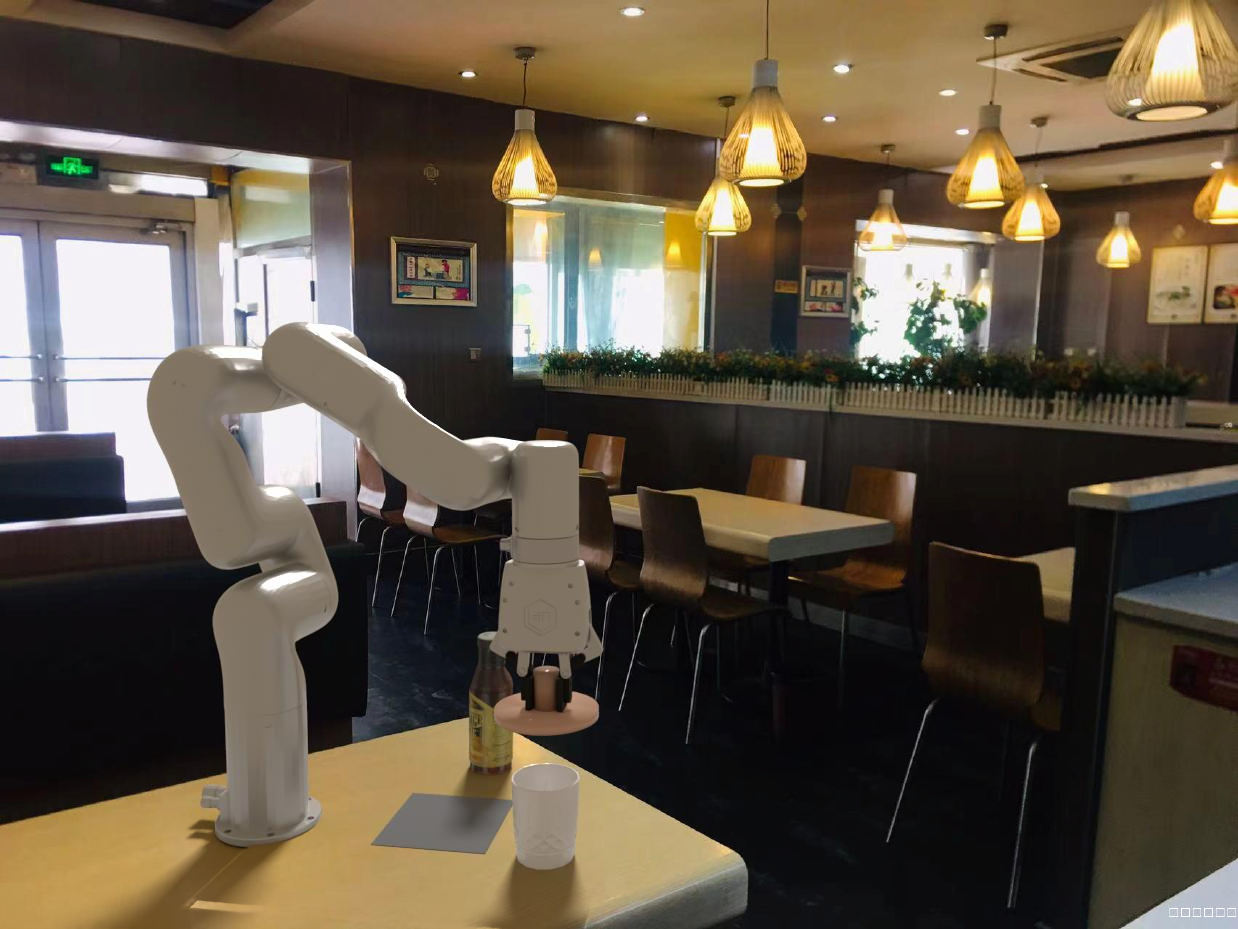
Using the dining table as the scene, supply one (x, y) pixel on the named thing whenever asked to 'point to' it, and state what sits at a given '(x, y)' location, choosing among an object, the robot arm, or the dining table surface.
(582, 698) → the lid
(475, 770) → the sauce bottle
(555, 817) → the white cup
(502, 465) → the robot arm
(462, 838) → the mat
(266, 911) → the dining table surface
